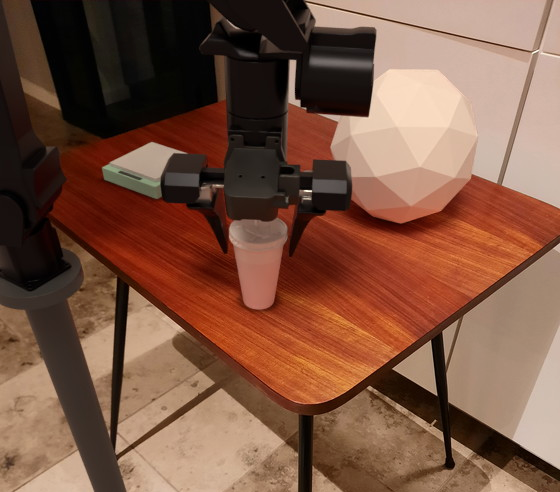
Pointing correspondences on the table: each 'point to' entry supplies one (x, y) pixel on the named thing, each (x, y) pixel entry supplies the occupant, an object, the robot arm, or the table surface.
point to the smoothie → (258, 258)
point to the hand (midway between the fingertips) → (258, 253)
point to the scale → (140, 169)
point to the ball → (408, 145)
